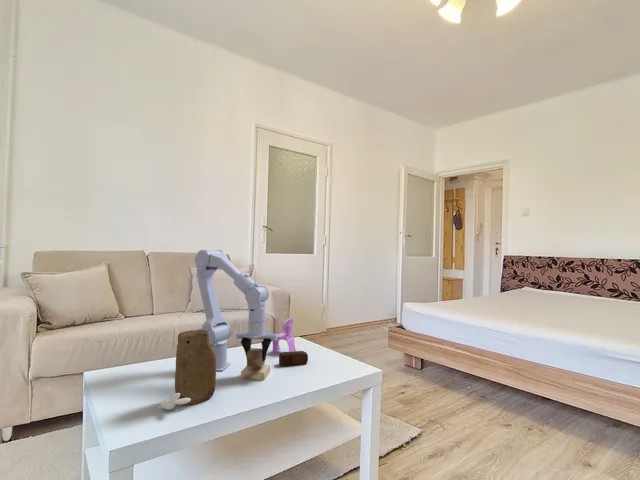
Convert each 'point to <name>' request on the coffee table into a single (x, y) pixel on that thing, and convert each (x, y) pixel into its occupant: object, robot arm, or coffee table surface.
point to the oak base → (255, 373)
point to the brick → (293, 358)
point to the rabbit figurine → (173, 402)
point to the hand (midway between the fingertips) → (256, 359)
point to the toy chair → (285, 337)
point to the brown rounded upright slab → (195, 366)
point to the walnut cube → (255, 358)
